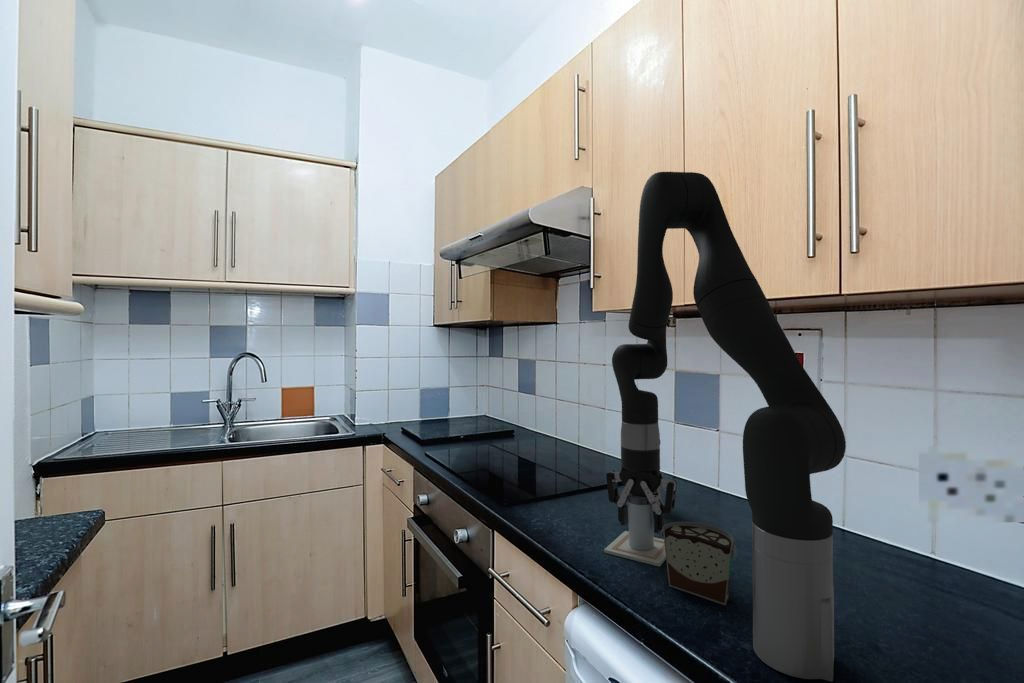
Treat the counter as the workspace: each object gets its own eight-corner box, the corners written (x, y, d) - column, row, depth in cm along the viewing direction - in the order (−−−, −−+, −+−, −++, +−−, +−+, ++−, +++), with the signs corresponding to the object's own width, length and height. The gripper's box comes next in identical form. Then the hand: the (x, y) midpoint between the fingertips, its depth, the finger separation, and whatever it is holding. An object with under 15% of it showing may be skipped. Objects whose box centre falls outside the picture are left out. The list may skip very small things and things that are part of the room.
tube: (657, 543, 99) (655, 493, 99) (649, 552, 95) (647, 500, 95) (634, 539, 101) (632, 490, 102) (625, 547, 98) (624, 496, 98)
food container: (748, 593, 81) (747, 532, 81) (735, 609, 76) (735, 544, 76) (675, 570, 89) (675, 515, 89) (660, 583, 85) (660, 525, 85)
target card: (677, 545, 100) (677, 541, 100) (659, 566, 91) (659, 563, 91) (625, 533, 106) (625, 530, 106) (604, 552, 97) (604, 549, 97)
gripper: (598, 443, 99) (599, 526, 99) (670, 452, 91) (671, 543, 91) (613, 437, 105) (614, 515, 105) (682, 444, 97) (683, 529, 97)
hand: (641, 527), depth 98 cm, fingers open, 6 cm apart
